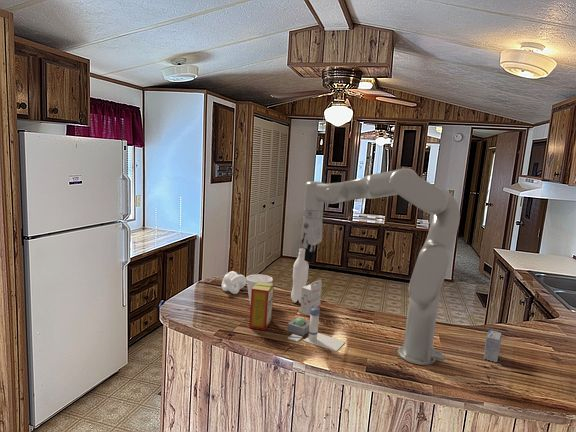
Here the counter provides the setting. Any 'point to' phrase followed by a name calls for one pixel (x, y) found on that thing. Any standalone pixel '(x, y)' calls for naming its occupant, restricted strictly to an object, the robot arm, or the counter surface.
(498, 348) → the medicine box
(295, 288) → the water bottle
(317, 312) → the marker
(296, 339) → the card
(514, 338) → the counter surface
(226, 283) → the white lumpy rounded part
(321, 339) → the paper
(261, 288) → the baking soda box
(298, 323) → the button
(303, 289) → the ink cartridge box
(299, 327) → the button housing
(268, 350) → the counter surface
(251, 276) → the cup
